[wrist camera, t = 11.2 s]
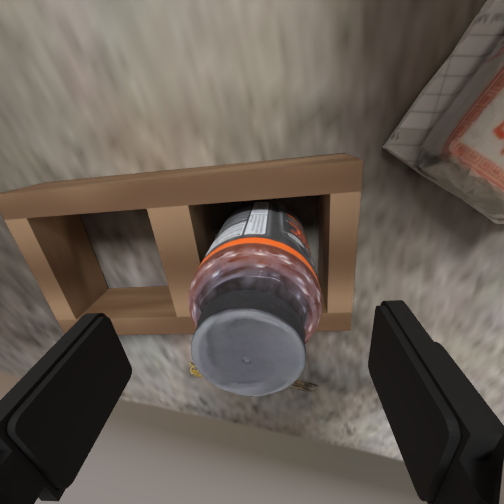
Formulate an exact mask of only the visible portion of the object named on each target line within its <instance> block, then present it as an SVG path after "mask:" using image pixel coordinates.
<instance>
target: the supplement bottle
mask: <svg viewBox="0 0 504 504" xmlns="http://www.w3.org/2000/svg"><path fill="white" fill-rule="evenodd" d="M188 305H189V312H190V315H191V319H192V321H193V323H194V326H195V327H196V330H195V332H194V335H193V338H192V343H191V355H192V360H193V362H194V365H195V366H196V368H197V370H198V371H199V373H200V374H201V375H202V376H204V378H205V379H206V380H207V381H209V382H210V383H211V384H213V385H214V386H216V387H219V388H220V389H221V390H225V391H227V392H230V393H235V394H237V395H242V396H265V395H269V394H273V393H276V392H279V391H281V390H284V389H285V388H287V387H288V386H290V385H291V384H293V383H294V382H295V381H296V380H297V379H298V378H299V376H300V375H301V373H302V371H303V369H304V366H305V360H306V349H305V344H306V342H307V341H308V340H309V339H310V338H311V336H312V335H313V333H314V332H315V330H316V328H317V326H318V324H319V320H320V317H321V314H322V313H321V312H322V296H321V291H320V287H319V281H318V278H317V274H316V271H315V267H314V263H313V261H312V257H311V253H310V250H309V245H308V242H307V238H306V234H305V231H304V228H303V226H302V224H301V222H300V220H299V219H298V217H297V216H296V214H295V213H294V212H293V211H292V210H291V209H289V208H288V207H287V206H285V205H283V204H281V203H280V202H277V201H273V200H266V199H261V200H252V201H249V202H246V203H244V204H242V205H240V206H239V207H238V208H236V209H235V210H234V211H233V212H232V213H231V214H230V215H229V217H228V218H227V219H226V221H225V223H224V224H223V226H222V228H221V230H220V231H219V233H218V235H217V236H216V238H215V240H214V242H213V243H212V245H211V247H210V249H209V250H208V252H207V254H206V256H205V257H204V259H203V261H202V262H201V264H200V266H199V268H198V270H197V271H196V273H195V275H194V277H193V280H192V282H191V285H190V290H189V294H188Z"/></svg>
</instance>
